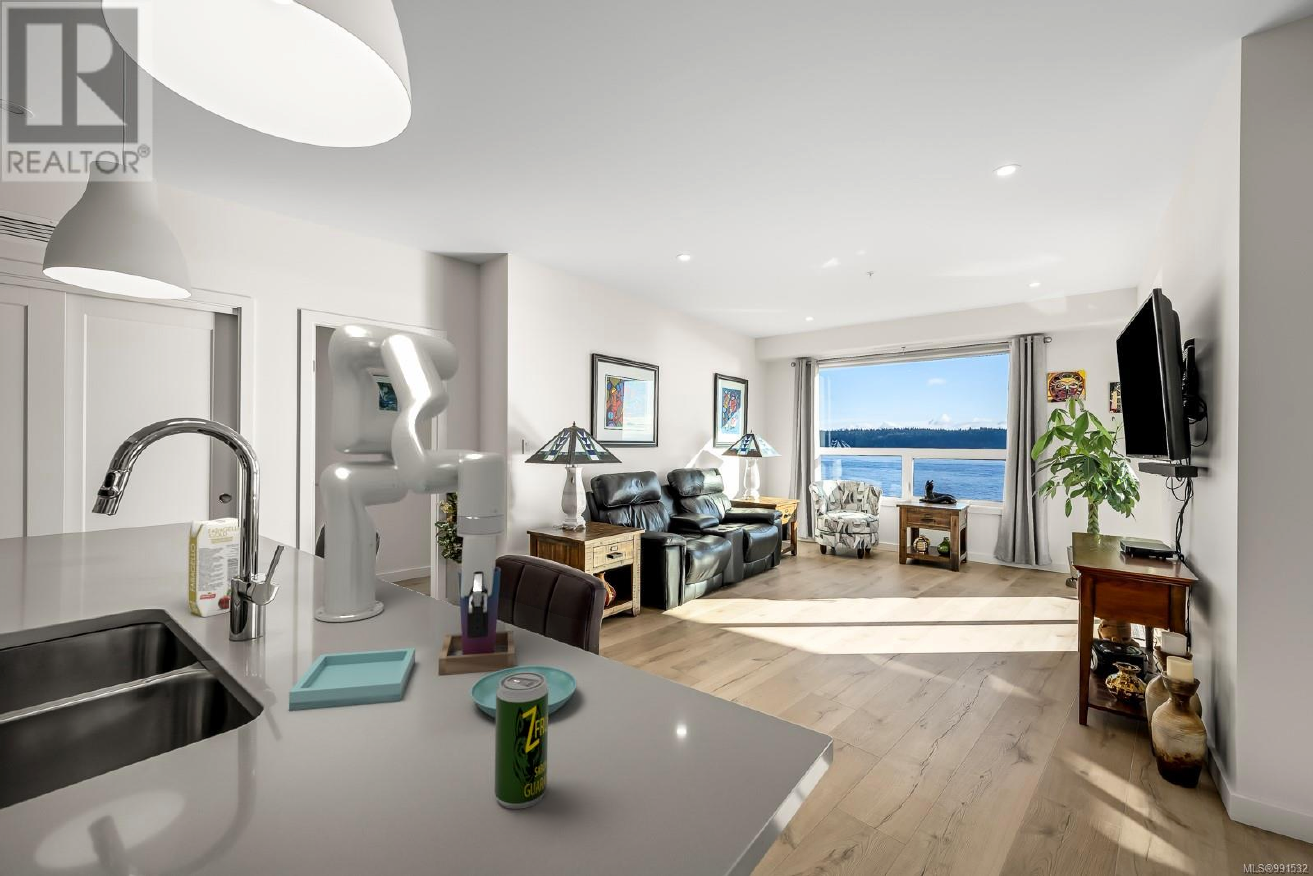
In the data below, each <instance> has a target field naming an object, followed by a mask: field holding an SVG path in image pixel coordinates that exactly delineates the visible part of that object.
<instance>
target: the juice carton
mask: <svg viewBox="0 0 1313 876" xmlns="http://www.w3.org/2000/svg"><path fill="white" fill-rule="evenodd" d="M238 519H239V518H237V517H223V518H217V519H213V520H191V522H190V524H189V530H188V537H187V541H188V544H187V603H188V609H189V611H190V613H191V614H195V615H196V616H199V617H202V618H207V617H213V616H216V615H222V614H225V613H230V612H229V600H230V592H231V580H232V578H233V577H234V576H235V575H237V574H238V548H239V527H238Z"/></svg>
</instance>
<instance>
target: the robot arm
mask: <svg viewBox="0 0 1313 876" xmlns="http://www.w3.org/2000/svg"><path fill="white" fill-rule="evenodd" d="M327 348H328V349H327V350H328V352H327V354H328V355H327V356H328V362H329V368H330V372H331V377H332V382H333V383H332V385H333V396H332V410H331V411H332V412H331V437H330V438H331V443H332V447H333V449H334V450H335V451H336V452H337V453H341V454H344V455H361V456H362V455H380V460H348V461H347V460H346V461H339V462H335V463H332V464H330V465H328V466H327V467H325V469H323V470H322V473H321V475H320V476H319V477H320V478H319V489H320V490H319V491H320V494H321V495H320V496H321V501H322V508H323V518H324V555H323V556H324V559H323V561H324V566H323V567H324V568H323V605H322V606H320V607H318V608H317V609H315V611H314V619H316V620H318V621H322V622H327V623H328V622H329V623H340V622H341V623H343V622H344V623H345V622H353V621H359V620H363V619H368V618H371V617H374V616H376V615H379V614H380V613H382V612H383V610H384V603H382V602H381V601H380V600H379V601H378V600H376V583H377V582H376V578H377V577H376V576H377V575H376V570H377V569H376V567H377V528H376V527H377V526H376V524H375V521H374V519H373V518H372V516H371V515H370V514H369V512H368V510H367V509H366V507H369V506H378V505H379V506H381V505H387V504H395V503H398V502H399V503H400V502H401V501H404V500H405V498H406V497H407V495H408V493H409V491H411V492H412V493H414V494H417V495H422V496H423V495H438V494H448V493H449V494H450V493H452V494H453V493H457V496H456V497H457V500H456V501H457V503H456V506H457V507H456V509H457V510H456V511H457V512H456V514H457V515H456V525H457V526H456V536H457V537H461V538H463V539H462V546H461V547H462V549H461V569H462V574H461V597H462V598H465V596H468V595H469V593H470V595H469V612H468V614H467V637H468V638H477V637H487V636H488V611H487V597H489V596H490V595H491V594H492V588H493V579H494V572H495V566H496V558H497V557H496V556H497V555H496V554H497V553H496V552H497V537H499V536H502V535H504V529H505V528H504V527H505V526H504V521H505V520H504V518H505V517H504V514H505V512H504V511H505V459H504V457H503V455H502V454H500V453H499V452H490V451H489V452H488V451H487V452H486V451H485V452H484V451H476V450H472V449H425V448H424V445H423V443H422V440H421V438H420V436H419V431H418V425H419V424H422V423H425V422H428V421H429V420H432V419H433V418H435V417H437V416H438V415H440V414H442V413H443V412H444V411H445V409H446V408H447V407H448V406H449V403H450V397H449V396H450V395H449V393H448V391H447V389H446V387H445V385H444V383H443V382H444V381H445V382H446V381H449V380H451V379H453V378H454V377H455V376H456V375H457V373H458V371H459V368H460V358H459V354H458V351H457V349H456V347H455V346H454V345H453V343H452V342H451V341H448V340H447V339H446V338H441V337H435V336H431V335H426V334H423V333H419V332H414V331H408V330H404V329H398V328H392V327H386V326H380V325H376V324H371V323H370V324H369V323H361V322H359V323H358V322H355V323H351V322H350V323H346V324H342V325H340V326H338V327H337V328H336V329H334V331H333V333H332V334H331V337H330V340H329V343H328V347H327ZM369 368H372V369H380V370H385V371H386V374H387V377H388V379H389V381H390V382H389V383H390V384H391V387H392V388H393V391H394V394H395V396H396V400H397V402H398V404H399V406H400V409H401V411H400V412H399V411H397V410H387V409H385V410H384V409H380V393H381V392H380V387H379V384H378V382H377V380H376V378H375V376H374V375H373V373H372V372H371V371H370V369H369ZM482 579H483V582H482ZM472 586H473V593H472ZM487 589H488V592H487ZM482 590H483V591H485V592H484V593H482ZM487 595H488V596H487ZM483 599H484V600H483ZM483 604H484V606H483Z"/></svg>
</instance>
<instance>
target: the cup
mask: <svg viewBox="0 0 1313 876" xmlns="http://www.w3.org/2000/svg"><path fill="white" fill-rule="evenodd" d="M501 571H502V569H501V568H500V567H499V566H496V565H495V572H494V579H493V588H492V594H491V595H490V596H489V597H487V611H488V636H487V637H477V638H468V637H467V614H468V612H469V595H470V593H469V595H468V596H465V598H462V597H461V574H462V568H460V569H459V570H458V585H459V586H458V587H459V606H460V608H459V609H460V627H461V629H460V630H461V634H462V650H461V651H462V655H472V654H485V653H495V649H496V648H495V637H496V632H497V621H498V610H499V609H498V608H499V599H500V598H499V596H500V595H499V594H500V585H501ZM482 582H483V579H482ZM484 592H485V591H483V590H482V593H484ZM487 592H488V589H487ZM472 593H473V586H472ZM487 596H488V595H487ZM483 600H484V599H483ZM483 606H484V604H483Z"/></svg>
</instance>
